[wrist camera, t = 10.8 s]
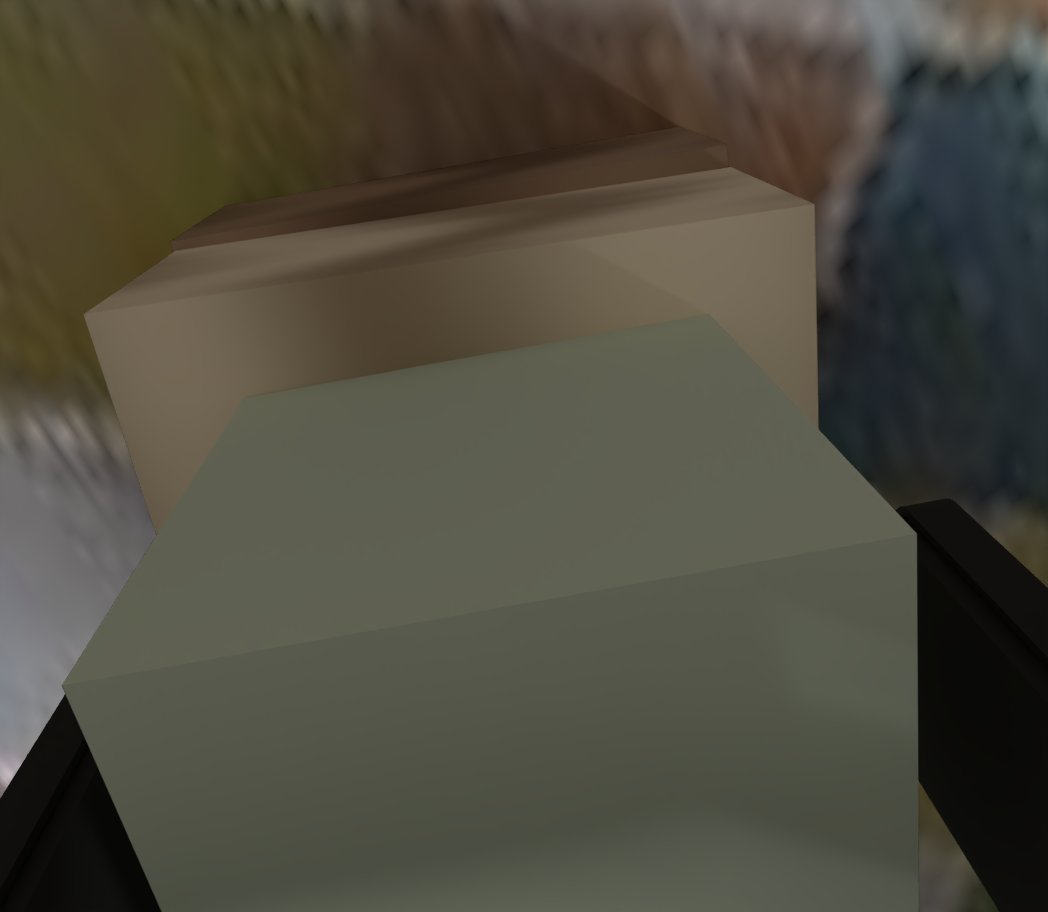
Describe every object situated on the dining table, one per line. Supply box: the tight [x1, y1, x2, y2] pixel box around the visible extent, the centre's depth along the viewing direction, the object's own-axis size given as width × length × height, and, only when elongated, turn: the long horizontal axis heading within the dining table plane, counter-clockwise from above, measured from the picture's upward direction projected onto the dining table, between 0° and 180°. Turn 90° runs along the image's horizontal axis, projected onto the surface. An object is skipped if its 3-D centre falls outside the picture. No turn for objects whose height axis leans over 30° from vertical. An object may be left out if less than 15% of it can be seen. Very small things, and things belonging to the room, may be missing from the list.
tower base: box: [170, 127, 729, 252], centre depth 19 cm, size 9×9×4 cm
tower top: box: [83, 167, 819, 535], centre depth 15 cm, size 9×9×4 cm
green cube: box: [62, 314, 919, 912], centre depth 11 cm, size 6×6×6 cm
